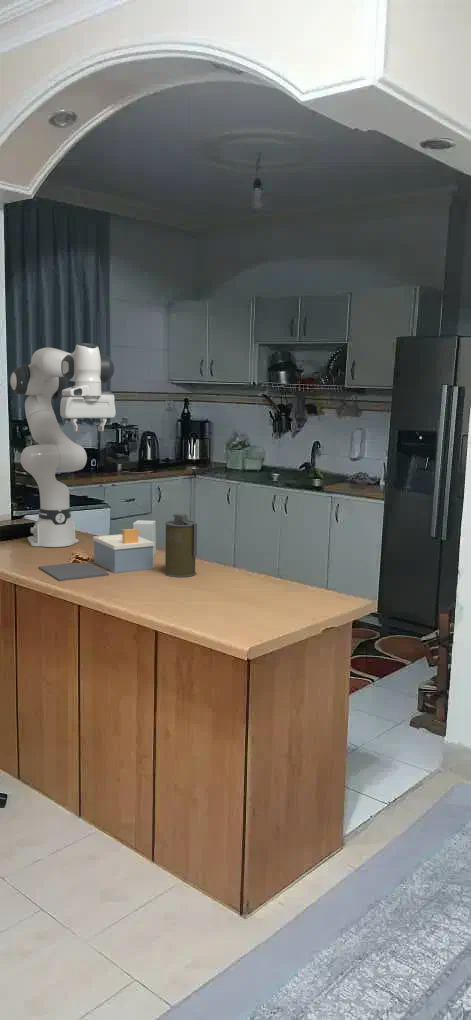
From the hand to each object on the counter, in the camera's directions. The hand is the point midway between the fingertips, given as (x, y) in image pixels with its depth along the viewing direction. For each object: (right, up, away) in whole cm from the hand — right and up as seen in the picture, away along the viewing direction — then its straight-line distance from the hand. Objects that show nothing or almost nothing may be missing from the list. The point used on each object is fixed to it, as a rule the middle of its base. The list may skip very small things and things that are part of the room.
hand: (88, 431), depth 274 cm
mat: (-3, -48, -10) cm, 49 cm away
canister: (+33, -49, -10) cm, 60 cm away
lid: (+12, -39, -1) cm, 41 cm away
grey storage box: (+12, -47, 0) cm, 48 cm away
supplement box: (+17, -44, +18) cm, 51 cm away
